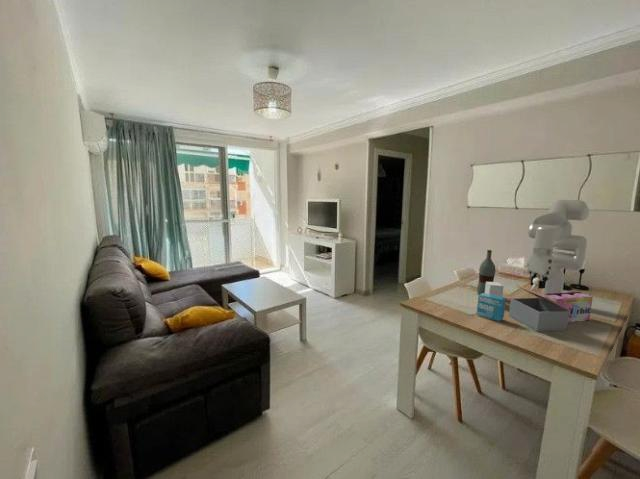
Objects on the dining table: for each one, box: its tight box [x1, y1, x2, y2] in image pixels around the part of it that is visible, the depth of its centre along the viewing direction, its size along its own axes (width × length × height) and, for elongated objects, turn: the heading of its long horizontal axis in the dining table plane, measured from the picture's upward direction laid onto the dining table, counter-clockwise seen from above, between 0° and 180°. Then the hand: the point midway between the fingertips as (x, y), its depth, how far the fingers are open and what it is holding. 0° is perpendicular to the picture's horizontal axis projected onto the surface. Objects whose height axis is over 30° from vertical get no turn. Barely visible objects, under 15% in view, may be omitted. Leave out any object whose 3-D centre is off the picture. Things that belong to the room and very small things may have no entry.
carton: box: [508, 297, 570, 333], centre depth 147 cm, size 16×18×10 cm
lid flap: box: [514, 277, 571, 311], centre depth 145 cm, size 17×18×8 cm
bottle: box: [476, 249, 496, 296], centre depth 185 cm, size 9×9×30 cm
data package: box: [476, 293, 506, 322], centre depth 153 cm, size 12×4×12 cm, turn 47°
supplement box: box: [485, 281, 504, 297], centre depth 172 cm, size 7×7×13 cm
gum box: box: [544, 291, 594, 323], centre depth 152 cm, size 24×8×14 cm, turn 100°
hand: (537, 286), depth 144 cm, fingers closed on lid flap, 4 cm apart
